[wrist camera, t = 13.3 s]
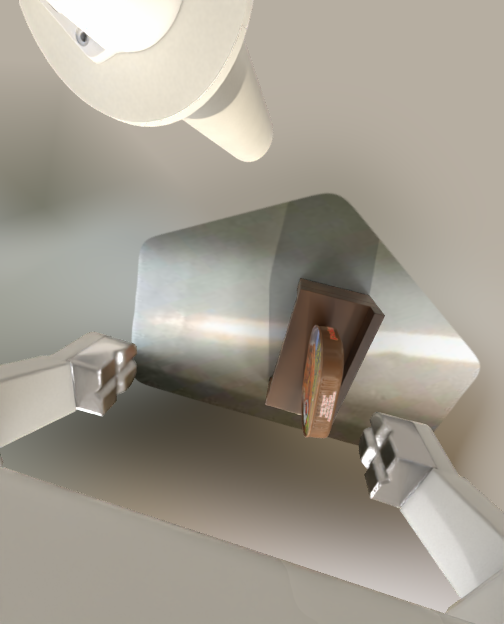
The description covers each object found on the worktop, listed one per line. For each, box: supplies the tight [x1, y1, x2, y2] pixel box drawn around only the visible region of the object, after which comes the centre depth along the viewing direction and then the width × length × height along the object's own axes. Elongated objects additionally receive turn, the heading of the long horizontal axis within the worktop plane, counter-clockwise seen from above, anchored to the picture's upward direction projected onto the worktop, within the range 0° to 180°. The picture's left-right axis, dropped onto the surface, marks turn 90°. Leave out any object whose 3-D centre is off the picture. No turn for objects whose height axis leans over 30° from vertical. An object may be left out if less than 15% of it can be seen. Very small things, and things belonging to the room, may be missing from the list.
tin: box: [301, 325, 344, 438], centre depth 32 cm, size 15×3×8 cm, turn 177°
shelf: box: [265, 278, 385, 424], centre depth 37 cm, size 10×20×7 cm, turn 168°
